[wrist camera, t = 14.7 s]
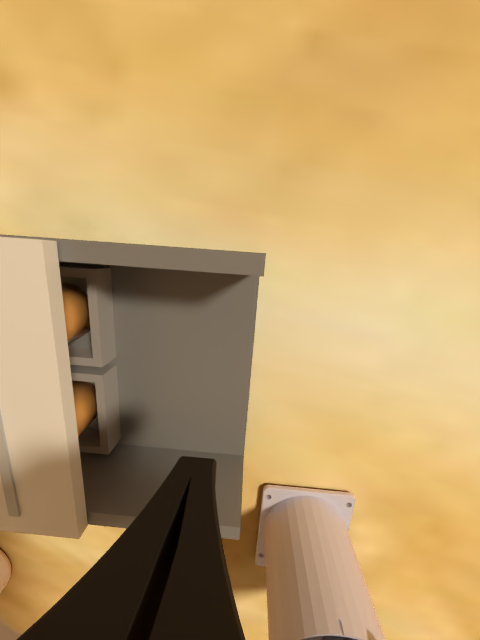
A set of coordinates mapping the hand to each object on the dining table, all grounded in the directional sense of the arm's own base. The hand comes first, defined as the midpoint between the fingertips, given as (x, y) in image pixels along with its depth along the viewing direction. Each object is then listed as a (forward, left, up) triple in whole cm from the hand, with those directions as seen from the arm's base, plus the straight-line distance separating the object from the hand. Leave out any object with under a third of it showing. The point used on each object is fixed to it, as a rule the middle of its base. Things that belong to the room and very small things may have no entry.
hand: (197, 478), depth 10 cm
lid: (0, +11, -4) cm, 12 cm away
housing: (0, +7, -10) cm, 13 cm away
